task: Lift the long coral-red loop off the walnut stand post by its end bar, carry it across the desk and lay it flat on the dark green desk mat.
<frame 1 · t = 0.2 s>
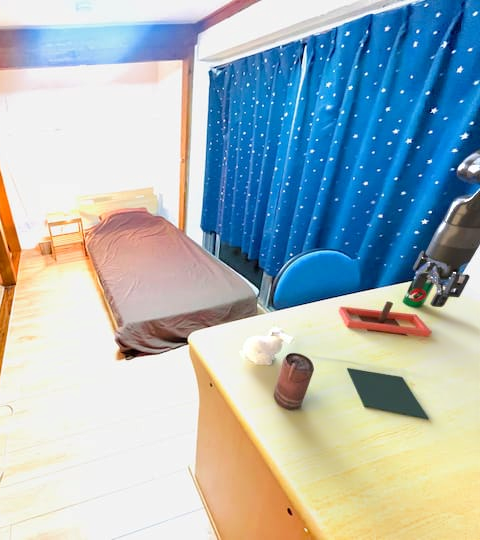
hand: (425, 296, 74), 18 cm above the table, tool pointing down, fingers open, 8 cm apart
stand: (378, 325, 90), on the table
rabbit: (263, 357, 83), on the table
can: (286, 401, 70), on the table
soda can: (410, 306, 97), on the table
mat: (383, 391, 70), on the table
loop: (380, 323, 90), point 1 cm above the table, touching stand
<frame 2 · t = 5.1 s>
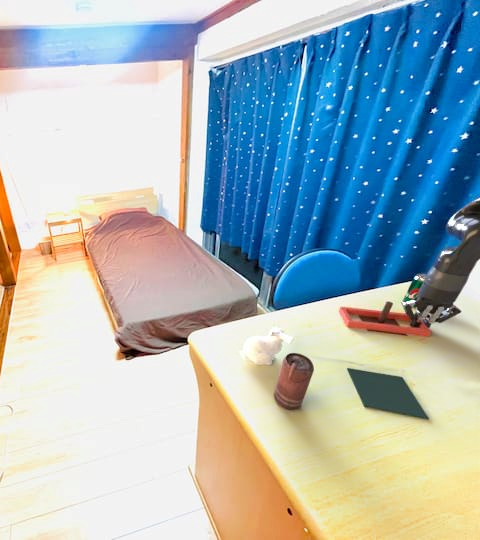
hand: (417, 329, 87), 0 cm above the table, tool pointing down, fingers closed on loop, 1 cm apart
loop: (380, 323, 90), point 1 cm above the table, touching gripper, stand
everything else where it was.
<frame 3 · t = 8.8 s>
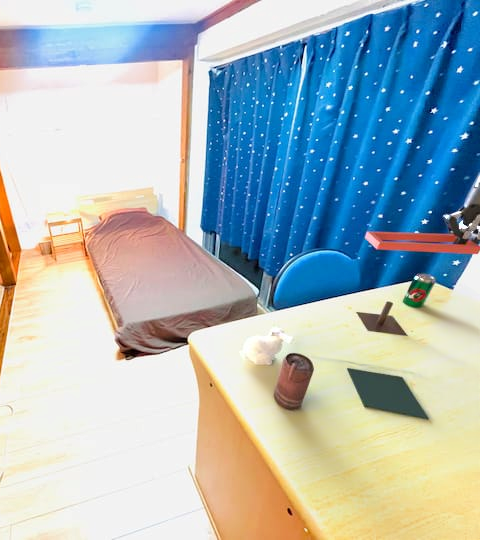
hand: (461, 250, 73), 28 cm above the table, tool pointing down, fingers closed on loop, 1 cm apart
loop: (416, 245, 76), point 29 cm above the table, touching gripper
everything else where it was.
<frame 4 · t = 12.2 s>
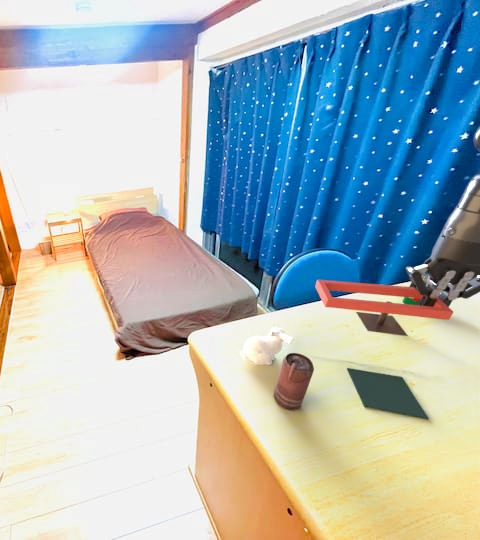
hand: (429, 310, 58), 26 cm above the table, tool pointing down, fingers closed on loop, 1 cm apart
loop: (374, 301, 60), point 27 cm above the table, touching gripper
everything else where it was.
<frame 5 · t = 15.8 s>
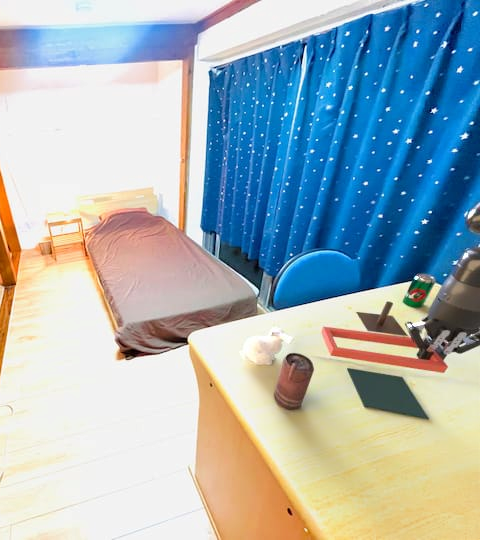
hand: (426, 361, 63), 12 cm above the table, tool pointing down, fingers closed on loop, 1 cm apart
loop: (376, 350, 66), point 13 cm above the table, touching gripper
everything else where it was.
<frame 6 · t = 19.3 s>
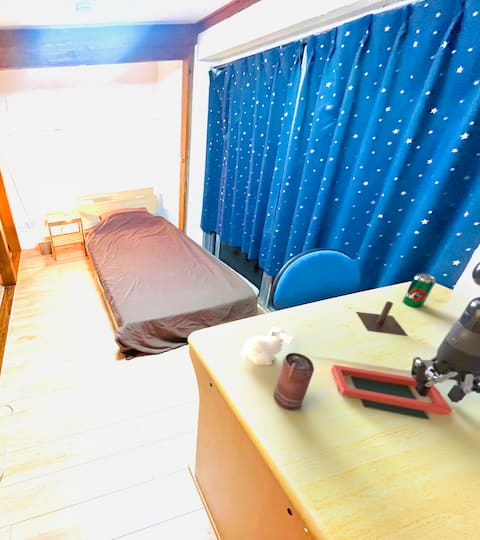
hand: (435, 396, 66), 2 cm above the table, tool pointing down, fingers open, 5 cm apart
loop: (384, 390, 70), on the table, touching mat
everything else where it was.
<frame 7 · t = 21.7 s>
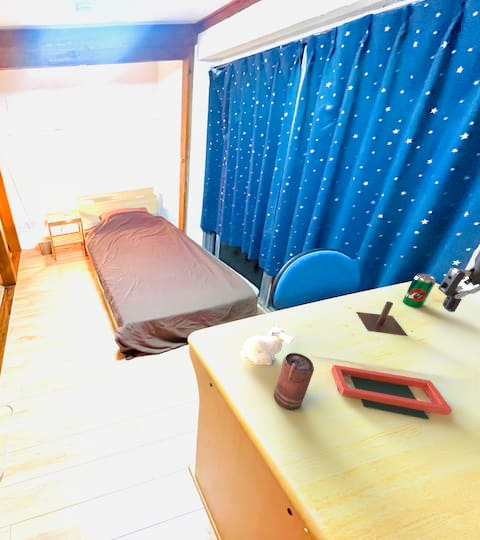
hand: (473, 311, 62), 22 cm above the table, tool pointing down, fingers open, 8 cm apart
nothing on the table moved.
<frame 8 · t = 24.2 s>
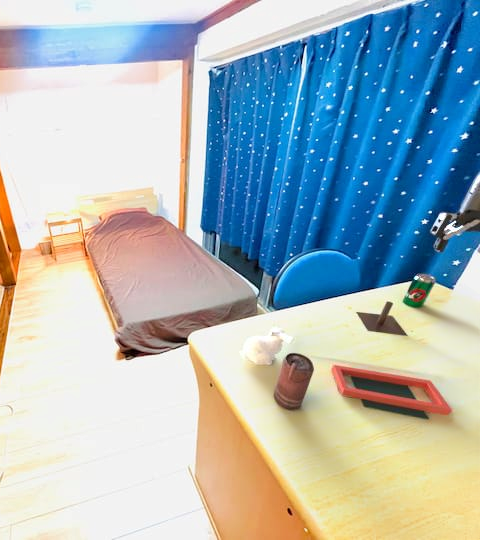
hand: (459, 252, 72), 28 cm above the table, tool pointing down, fingers open, 8 cm apart
nothing on the table moved.
at the end: loop inside the target area on the mat (0.1 cm from its centre), point 0.4 cm above the mat's base; loop moved 29.3 cm from its start; the gripper is holding nothing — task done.
